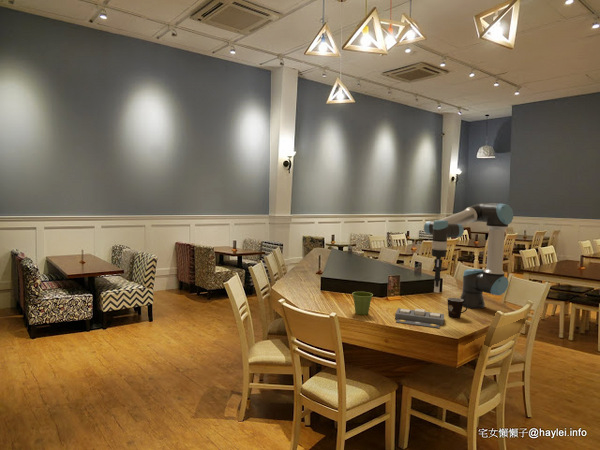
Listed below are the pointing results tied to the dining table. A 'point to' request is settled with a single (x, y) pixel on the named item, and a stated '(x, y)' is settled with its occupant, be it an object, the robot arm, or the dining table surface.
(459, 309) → the coffee mug
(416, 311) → the button middle
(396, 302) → the dining table surface
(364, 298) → the plant pot
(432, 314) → the button near
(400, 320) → the pattern card
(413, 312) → the button board
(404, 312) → the button far
